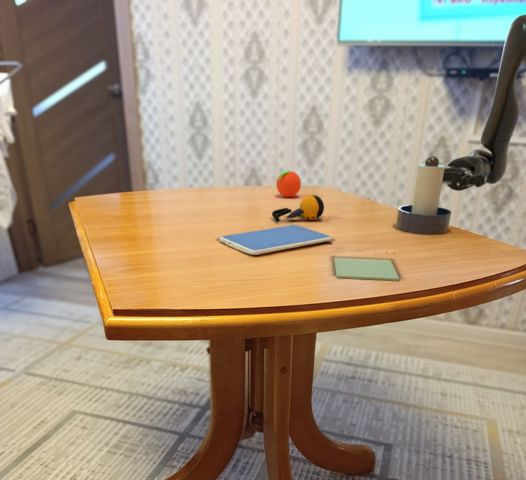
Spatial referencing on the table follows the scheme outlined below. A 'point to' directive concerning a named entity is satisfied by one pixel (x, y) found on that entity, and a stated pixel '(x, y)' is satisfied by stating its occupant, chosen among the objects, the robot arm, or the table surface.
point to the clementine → (288, 184)
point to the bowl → (423, 221)
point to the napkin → (365, 269)
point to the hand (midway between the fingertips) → (442, 180)
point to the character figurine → (303, 209)
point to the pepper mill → (428, 187)
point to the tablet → (274, 239)
